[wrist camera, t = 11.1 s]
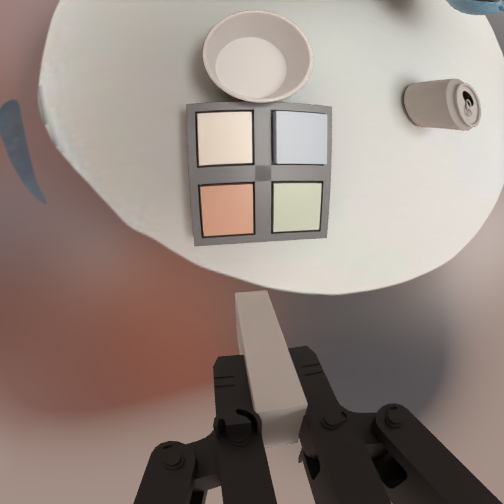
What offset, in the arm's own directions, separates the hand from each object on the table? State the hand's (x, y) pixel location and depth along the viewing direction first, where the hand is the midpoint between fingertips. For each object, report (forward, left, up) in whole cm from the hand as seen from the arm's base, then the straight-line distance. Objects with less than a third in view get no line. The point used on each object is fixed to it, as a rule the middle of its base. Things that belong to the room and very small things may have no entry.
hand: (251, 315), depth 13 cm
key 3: (-9, +9, -21) cm, 25 cm away
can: (-17, +31, -25) cm, 43 cm away
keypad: (-4, +4, -24) cm, 25 cm away
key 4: (-9, 0, -23) cm, 24 cm away
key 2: (0, 0, -23) cm, 23 cm away
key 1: (0, +8, -23) cm, 24 cm away
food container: (-18, +4, -25) cm, 31 cm away
